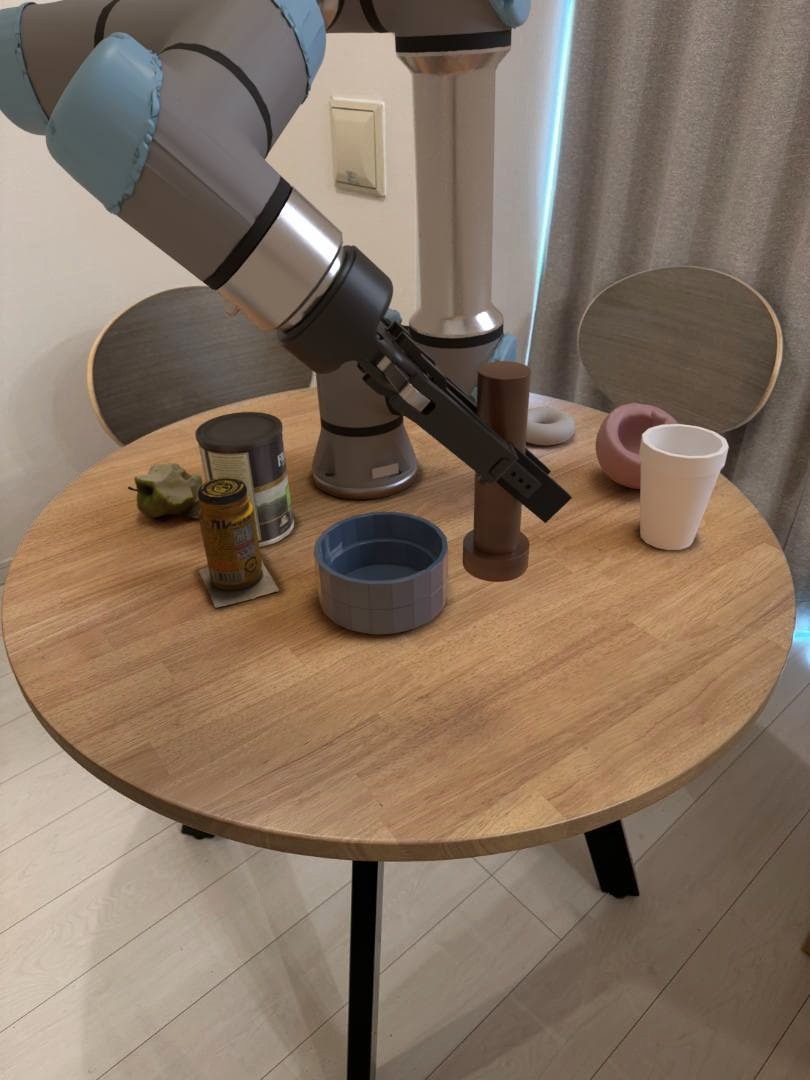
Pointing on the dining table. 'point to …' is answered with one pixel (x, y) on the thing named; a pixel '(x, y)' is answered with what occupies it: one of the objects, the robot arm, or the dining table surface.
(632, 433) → the pink hollowed ball
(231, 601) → the condiment
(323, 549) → the bowl
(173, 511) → the fruit
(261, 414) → the coffee can
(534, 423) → the donut
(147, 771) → the dining table surface
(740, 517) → the dining table surface
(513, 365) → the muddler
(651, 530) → the foam cup
